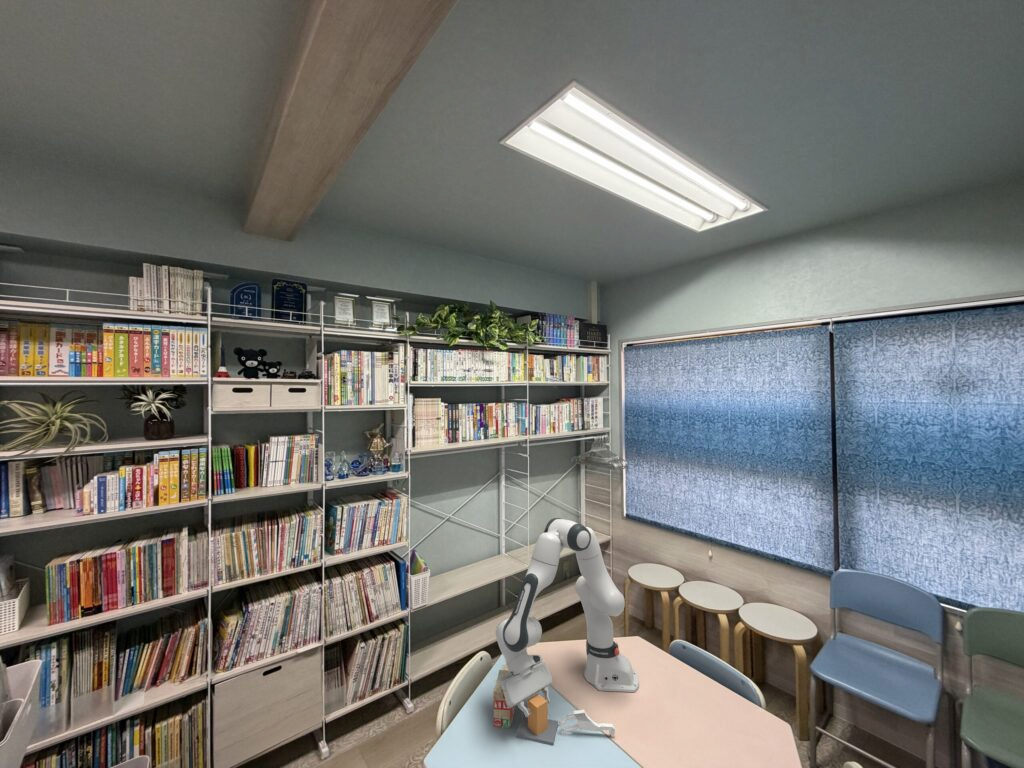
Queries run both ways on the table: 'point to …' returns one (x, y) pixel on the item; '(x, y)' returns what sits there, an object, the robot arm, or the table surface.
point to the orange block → (538, 714)
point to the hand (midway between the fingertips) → (538, 709)
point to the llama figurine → (585, 723)
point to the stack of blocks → (502, 703)
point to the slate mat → (543, 737)
